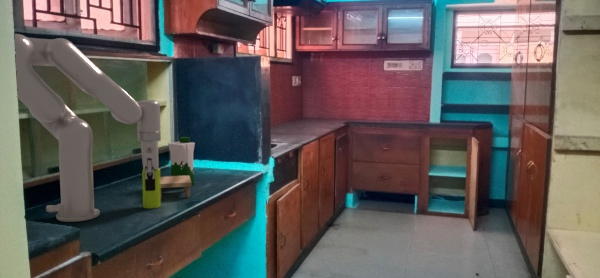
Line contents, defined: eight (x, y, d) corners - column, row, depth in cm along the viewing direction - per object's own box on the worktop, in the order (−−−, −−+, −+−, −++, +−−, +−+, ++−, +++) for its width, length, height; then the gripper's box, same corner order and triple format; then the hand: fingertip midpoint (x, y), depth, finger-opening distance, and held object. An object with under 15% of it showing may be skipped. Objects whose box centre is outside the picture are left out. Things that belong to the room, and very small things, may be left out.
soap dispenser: (149, 203, 169) (148, 147, 168) (164, 205, 166) (163, 148, 165) (137, 206, 164) (135, 149, 162) (152, 209, 161) (151, 150, 159)
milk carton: (197, 184, 199) (196, 137, 197) (182, 189, 191) (182, 139, 189) (181, 182, 203) (180, 136, 201) (166, 186, 195) (165, 138, 193)
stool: (155, 200, 174) (155, 184, 173) (155, 191, 186) (155, 176, 185) (191, 198, 177) (191, 182, 177) (189, 190, 190) (189, 175, 189)
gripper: (160, 139, 155) (162, 193, 157) (160, 133, 171) (161, 182, 174) (136, 140, 153) (138, 194, 155) (138, 133, 169) (140, 183, 172)
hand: (150, 187), depth 164 cm, fingers closed on soap dispenser, 6 cm apart
